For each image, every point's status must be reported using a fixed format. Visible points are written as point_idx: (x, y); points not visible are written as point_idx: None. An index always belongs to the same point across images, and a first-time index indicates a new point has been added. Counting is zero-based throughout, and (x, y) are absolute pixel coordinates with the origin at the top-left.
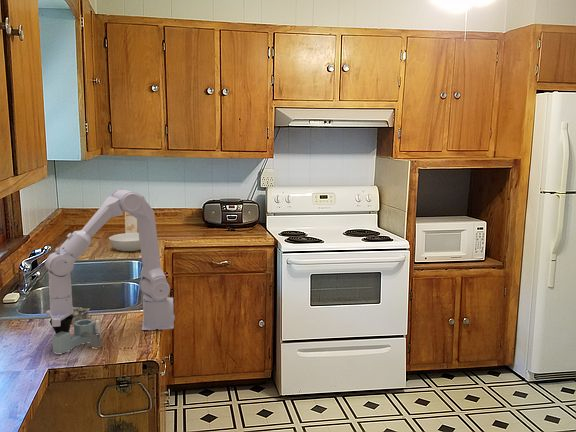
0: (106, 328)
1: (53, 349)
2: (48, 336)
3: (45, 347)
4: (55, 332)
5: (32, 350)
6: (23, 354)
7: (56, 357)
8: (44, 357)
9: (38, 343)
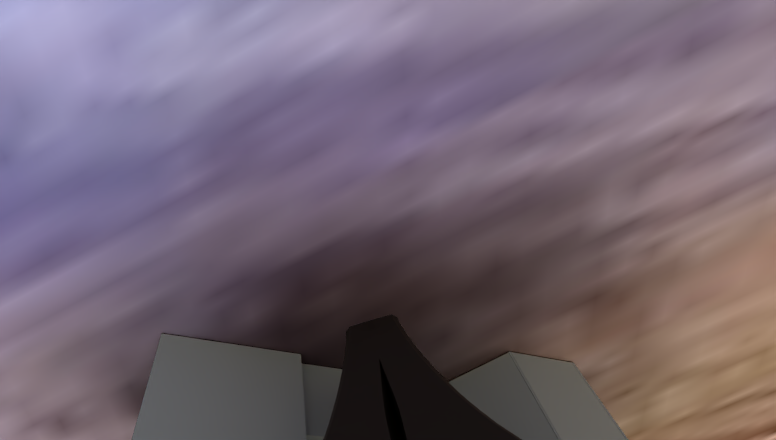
0: (751, 435)
1: (152, 373)
2: (654, 30)
3: (306, 176)
4: (326, 434)
5: (181, 64)
6: (10, 9)
7: (74, 410)
8: (28, 311)
9: (424, 18)
